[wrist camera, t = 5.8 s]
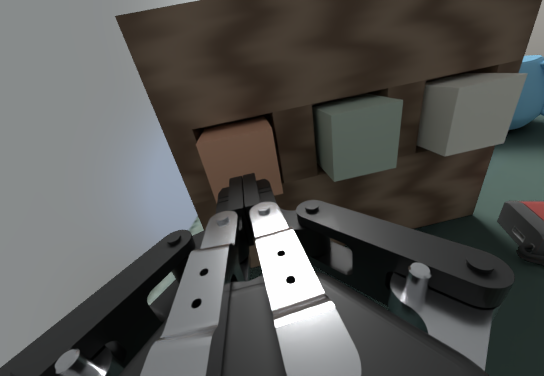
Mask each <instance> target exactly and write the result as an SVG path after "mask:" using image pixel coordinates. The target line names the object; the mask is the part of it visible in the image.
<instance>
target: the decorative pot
mask: <svg viewBox="0 0 544 376" xmlns="http://www.w3.org/2000/svg"><path fill="white" fill-rule="evenodd" d="M519 73H528V74H527V77H526V80H525V83H524V86H523V89H522V92H521V95H520V98H519V100H518V103H517V106H516V109H515V112H514V115H513V118H512V121H511V124H510V127H509V130H512V129H517V128H520V127H523V126H525V125H526V124H528V123H529V122H531V121H532V120H534V119H535V118H536V117H537V116H539V115H540V114H541V115H543V116H544V57H542V56H541V55H534V56H533V55H532V56H524V58H523V61H522V64H521V67H520V70H519Z"/></svg>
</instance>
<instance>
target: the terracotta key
mask: <svg viewBox="0 0 544 376" xmlns="http://www.w3.org/2000/svg"><path fill="white" fill-rule="evenodd" d="M196 147H197V149H198V152H199V155H200V158H201V161H202V164H203V166H204V169H205V172H206V175H207V178H208V180H209V183H210V186H211V189H212V192H213V195H214V197H215V200H216V203H217V200H218V193H219V192H220V191H221V189H222V188H226V187H229V179H230V178H233V177H238V176H242V178H243V175H246V174H251V173H255V177H256V180H261V179H266V180H268V181H269V182H270V185H271V188H272V191H273V194H274V195H279V194H283V189H282V183H281V177H280V172H279V166H278V160H277V155H276V149H275V143H274V137H273V132H272V128H271V126H270V124H269V123H268V121H267V120H266V118H265V117H264V116H262V117H257V118H252V119H247V120H243V121H238V122H233V123H229V124H224V125H219V126H214V127H210V128H205V129H204V130H203V132H202V134H201V136H200V138H199V140H198V141H197V143H196Z"/></svg>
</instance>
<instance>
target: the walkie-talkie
mask: <svg viewBox="0 0 544 376" xmlns="http://www.w3.org/2000/svg"><path fill="white" fill-rule="evenodd" d="M497 222H498V223H499V224H500V225H501V226H502V228H503V229H504V230H505V231H506V232H507V233H508V234H509V236H510V237H511V238H512V239H513V240H514V241H515V242H516V243H517V245H518V246H519V247H518V250H516V252H517V254H518V256H519V257H520V258H522V259H524V260H526V261H528V262H533V263H537V264H542V265H544V201H507V202H505V203H504V205H503V208H502V210H501V213H500V215H499V218H498V221H497Z"/></svg>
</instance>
